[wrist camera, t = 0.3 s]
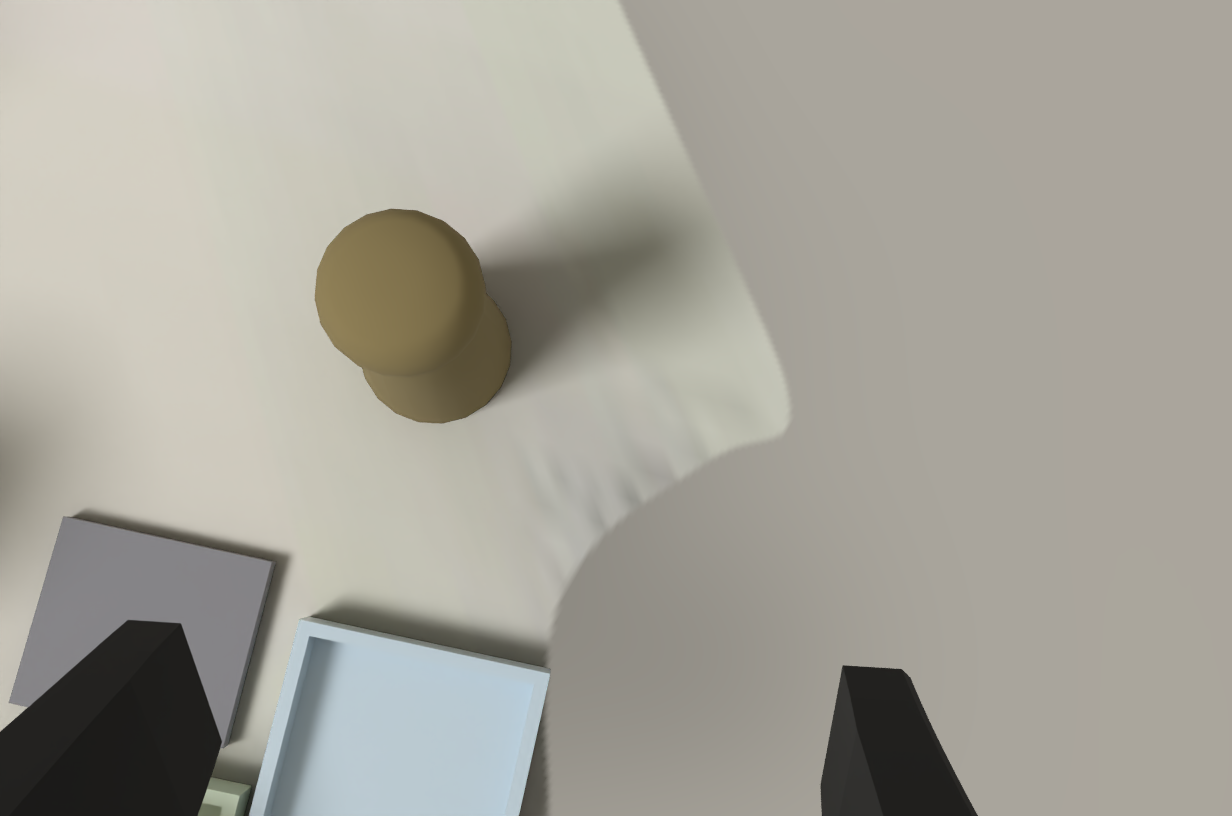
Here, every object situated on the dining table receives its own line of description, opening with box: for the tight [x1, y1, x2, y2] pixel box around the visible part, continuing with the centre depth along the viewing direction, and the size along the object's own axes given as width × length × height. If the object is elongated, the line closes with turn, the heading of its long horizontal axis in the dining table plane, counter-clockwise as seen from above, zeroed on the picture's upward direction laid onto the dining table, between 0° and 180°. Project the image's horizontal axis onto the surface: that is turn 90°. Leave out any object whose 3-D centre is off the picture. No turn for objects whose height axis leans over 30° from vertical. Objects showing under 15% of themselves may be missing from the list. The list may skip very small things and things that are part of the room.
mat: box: [9, 517, 276, 748], centre depth 39 cm, size 7×8×1 cm
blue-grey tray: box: [249, 617, 550, 816], centre depth 38 cm, size 10×10×2 cm
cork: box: [315, 209, 512, 423], centre depth 35 cm, size 6×6×11 cm
